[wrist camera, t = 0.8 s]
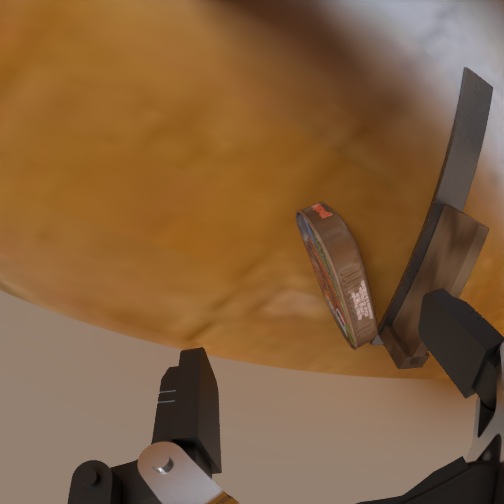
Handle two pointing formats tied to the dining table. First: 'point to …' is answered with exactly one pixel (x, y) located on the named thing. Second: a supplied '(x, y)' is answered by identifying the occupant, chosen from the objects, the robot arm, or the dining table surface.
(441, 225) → the brown wooden block
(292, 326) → the dining table surface
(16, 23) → the dining table surface
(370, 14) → the dining table surface
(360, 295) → the tin
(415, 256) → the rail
